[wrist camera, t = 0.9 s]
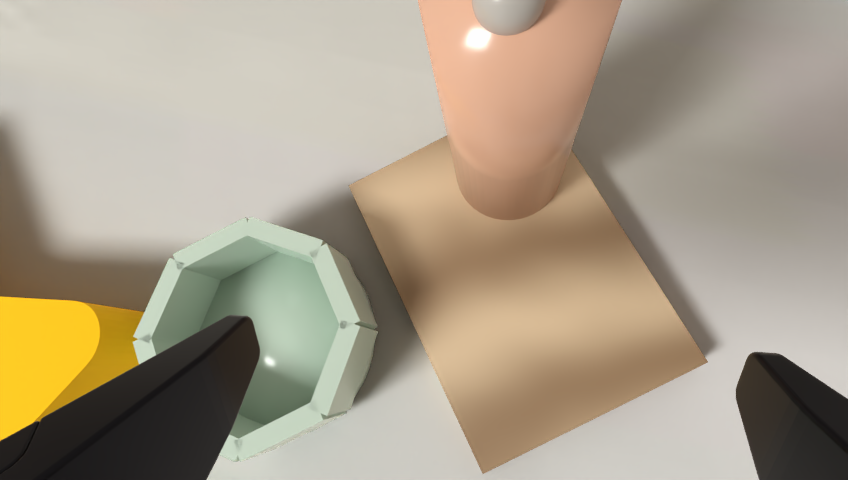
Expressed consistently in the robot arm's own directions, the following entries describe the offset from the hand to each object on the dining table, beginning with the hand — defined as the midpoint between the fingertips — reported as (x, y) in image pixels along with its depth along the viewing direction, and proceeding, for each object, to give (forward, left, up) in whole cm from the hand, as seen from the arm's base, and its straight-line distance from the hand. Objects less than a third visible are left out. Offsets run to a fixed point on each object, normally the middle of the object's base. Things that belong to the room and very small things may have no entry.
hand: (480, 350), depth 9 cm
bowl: (+5, +8, -13) cm, 16 cm away
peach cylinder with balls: (+7, -5, -12) cm, 15 cm away
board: (+3, -3, -13) cm, 14 cm away
